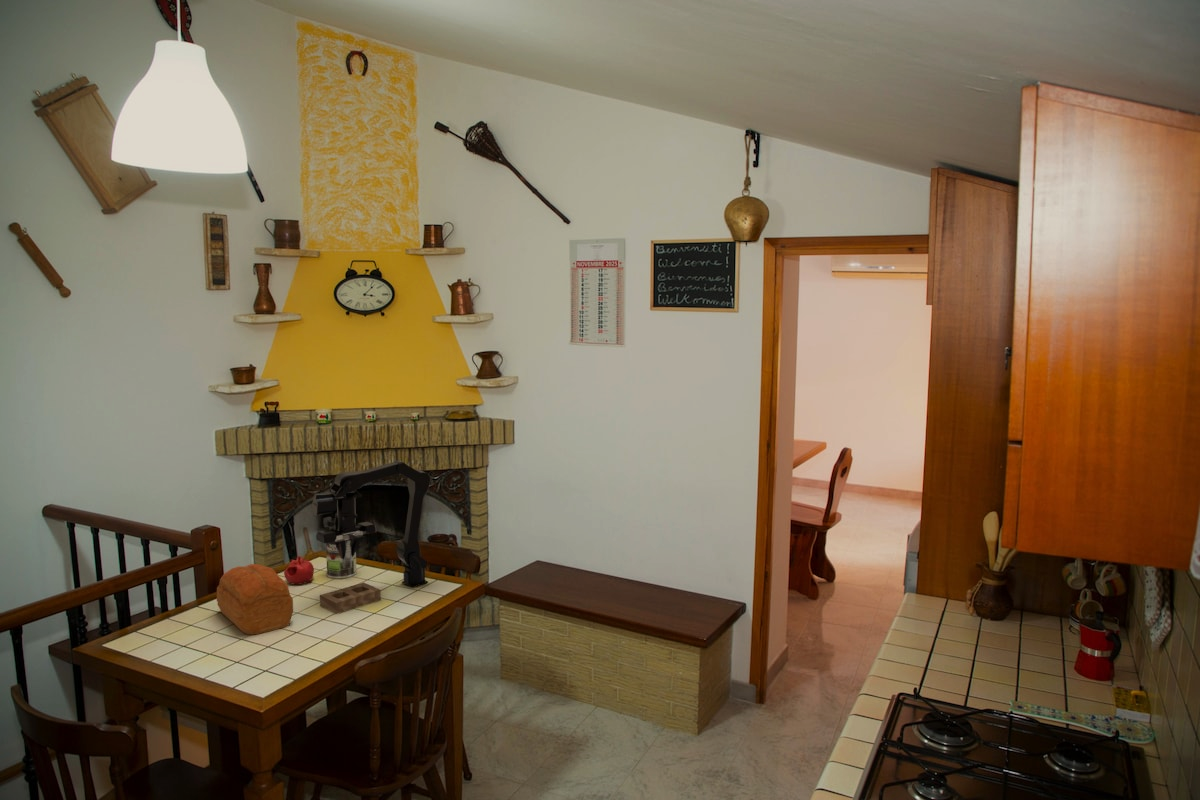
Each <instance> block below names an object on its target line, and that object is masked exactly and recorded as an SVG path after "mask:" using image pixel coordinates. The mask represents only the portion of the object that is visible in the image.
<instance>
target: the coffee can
mask: <svg viewBox="0 0 1200 800" xmlns="http://www.w3.org/2000/svg"><path fill="white" fill-rule="evenodd" d="M343 539H350V538H349V535H345V536H343ZM325 547H326V548H325V550H326V551H325V552H326V576H327V577H328V578H330V579H347V578H350V577H353V576H355V575H356V574H357V551H356V552H355V554H354V556H353V557H352V567H350V568H343V564H342V559H341V557H340V554H339V552H338V549H337V547H336V545H335V543H334V542H331V543H325Z"/></svg>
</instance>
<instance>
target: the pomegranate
mask: <svg viewBox="0 0 1200 800" xmlns="http://www.w3.org/2000/svg"><path fill="white" fill-rule="evenodd" d="M301 557H302V556H301V555H297V557H296V560H294V559H289V560H288V562H290V563H289V564H288V566H287V568H285V570H283V574H284V578H285V580H286V581H287V582H288V583H290V584H293V585H303V584H306V583H309V582H311V581H312V580H313V578H314V571H315V568H314V565H313V563H312V562H311V561H312V559H306V557H302V558H301Z"/></svg>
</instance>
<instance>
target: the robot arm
mask: <svg viewBox="0 0 1200 800" xmlns="http://www.w3.org/2000/svg"><path fill="white" fill-rule="evenodd" d="M396 475H401V476H402V477H404V478H405V479H407V490H408V493H409V499H408V509H407V514H406V522H405V530H404V536H403V538H402V539H401V540H397V544H396V545H397V547H396V550H395V552H396V553H397V557H398V558H399V560H401V561H402V563H403V564H404V565H406V566H404V568H403V569H404V571H403V581H401V582H402V584H403V585H405V586H409V587H411V588H415V587H418V586H421V585H422V586H423V585H424V584H427V583H428V582H429V581H428V580H426V567H427V565H428V561H427V560H426V559H424V558H423V557H422V556H421V546H420V540H419V534H420V525H421V519H422V513H423V505H424V498H425V496H426V495H427V493H428V491H429V488H430V484H431V479H432V478H431V476H430V474H428V473H427V472H425V471H422V470H420V469H415V468H413V467H411V466H409V465H408V464H407V463H406V462H404V461H401V460H398V459H397V460H394V461H392V462H390V463H386V464H383V465H378V466H375V467H371V468H368V469H363V470H359V471H358V470H349V471H343V472H339V473H338V474H337V475H336V477H335V478H334V483H333V484H332V485H331V486H330V488H329V490H328V491H327V493H325V492H324V493H314V495H313V499H312V503H311V509H312V513H313V515H314V516H315V517H316V516H323V515H330V514H334V518H332V517H331V516H327V517H323V527H324V528H329V529H324V530H321V531H320V530H319V531H317V533H316V536H315V537H316V538H315V540H316V541H318V542H321V543H323V544H326V543H331V542H334V543H335V545H336V547H337V549H338V552H339V554H340V557H341V559H344V556H345V540H343V536H345V535H349V538H350V539H352V557H353V556H354V554H355V552H356V553H357V549H358V547H359V546H360V544H361V542H362V540H363V539H365V537H366V536H365V535H363V534H364V533H363V532H365V533H366V534H368V535H372V534H376V533H377V526H376V525H375V524H374V523H371V522H369V521H365V522H359V523H357V522H356V519H358V516H359V515H358V514H356V510H357V509H356V508H357V507H356V499H357V498H362V496H363V494H361V493H360V492H359V491H358V489H361V488H363V486H364V485H367V484H368V483H373V482H376V481H379V480H382V479H386V478H390V477H392V476H396ZM335 512H336V513H335ZM332 530H335V531H332Z"/></svg>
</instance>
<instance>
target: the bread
mask: <svg viewBox="0 0 1200 800" xmlns="http://www.w3.org/2000/svg"><path fill="white" fill-rule="evenodd" d="M216 602H217V606H218V608H219V611H220V612H221V614H223V615H224V616H225V617H226V618H227V619H228V620H230V622H232V623H233V624H234V625H235V626H236V628H238V629H239V630H240V631H241V632H242V633H243V634H246V635H258V634H262V633H267V632H271V631H275V630H278V629H282V628H286V627H287V626H289V625H290V624H291V620H292V616H293V614H294V613H293V612H294V599H293V596H291V592H290V589H289V585H288V583H287V582H286V581H285V580H283V578H282V577H280V576H279V575H278V573H276V571H275V569H273V568H271V567H270V566H266V565H265V566H264V565H262V564H259V563H250V564H248V565H246V566H236V567H233V568H231V569H229V570H227V571H226V572H224V573H223V575H221V578H219V584H218V585H217V587H216Z"/></svg>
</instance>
